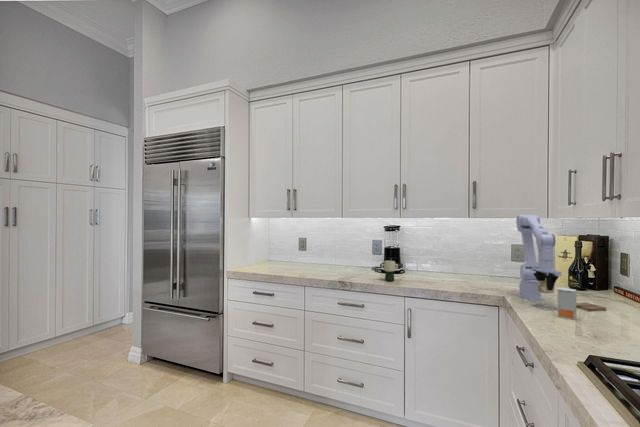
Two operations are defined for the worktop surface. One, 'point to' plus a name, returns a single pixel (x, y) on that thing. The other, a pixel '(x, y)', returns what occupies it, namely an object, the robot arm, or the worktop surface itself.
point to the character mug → (389, 269)
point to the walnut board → (590, 307)
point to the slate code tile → (545, 307)
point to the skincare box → (566, 303)
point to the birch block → (544, 287)
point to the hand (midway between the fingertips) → (545, 289)
